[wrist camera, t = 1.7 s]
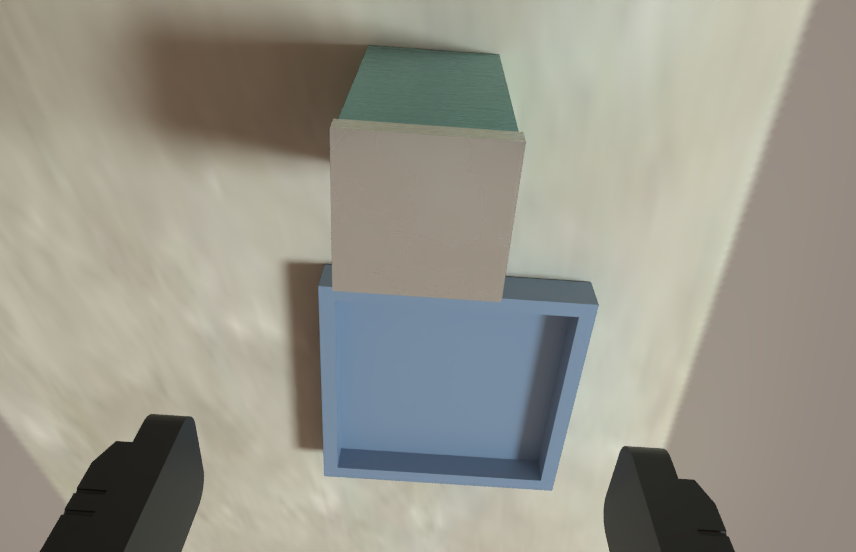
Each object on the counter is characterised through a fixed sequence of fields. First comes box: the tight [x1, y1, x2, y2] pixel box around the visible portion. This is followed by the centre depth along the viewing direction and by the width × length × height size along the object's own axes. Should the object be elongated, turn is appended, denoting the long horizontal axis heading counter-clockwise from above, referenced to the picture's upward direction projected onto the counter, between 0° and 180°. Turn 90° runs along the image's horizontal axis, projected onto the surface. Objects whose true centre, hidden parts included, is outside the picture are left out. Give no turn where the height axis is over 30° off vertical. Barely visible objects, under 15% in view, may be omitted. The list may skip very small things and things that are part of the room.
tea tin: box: [330, 45, 526, 302], centre depth 25 cm, size 6×6×10 cm
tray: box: [318, 264, 599, 491], centre depth 36 cm, size 14×14×2 cm
